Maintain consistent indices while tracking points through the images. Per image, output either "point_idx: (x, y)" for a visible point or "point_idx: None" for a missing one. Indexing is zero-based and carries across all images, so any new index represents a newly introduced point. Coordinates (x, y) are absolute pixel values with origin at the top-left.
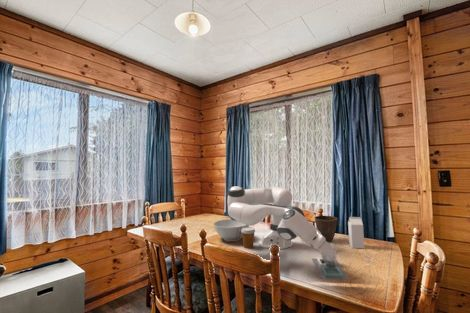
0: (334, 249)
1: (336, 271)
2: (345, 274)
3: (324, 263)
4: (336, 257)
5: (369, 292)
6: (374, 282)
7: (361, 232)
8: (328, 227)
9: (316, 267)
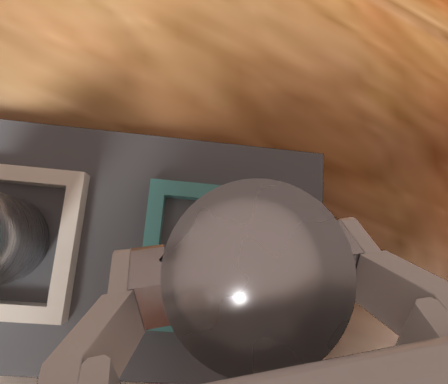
0: (262, 190)
1: (187, 207)
2: (242, 155)
3: (30, 269)
4: (353, 218)
5: (421, 100)
6: (297, 10)
7: None
8: None
9: None
